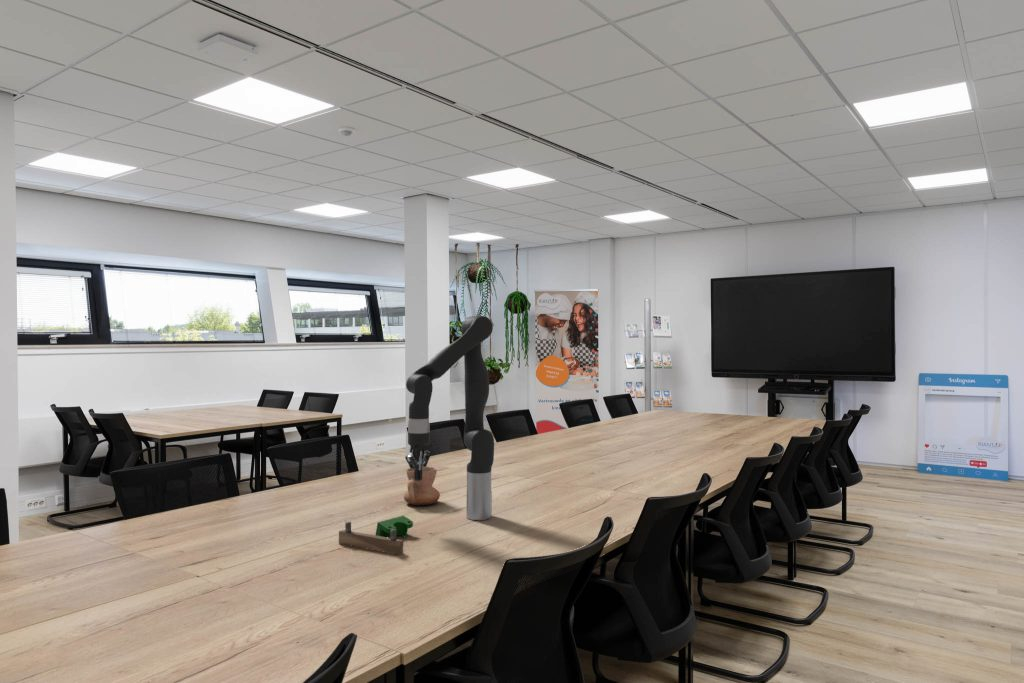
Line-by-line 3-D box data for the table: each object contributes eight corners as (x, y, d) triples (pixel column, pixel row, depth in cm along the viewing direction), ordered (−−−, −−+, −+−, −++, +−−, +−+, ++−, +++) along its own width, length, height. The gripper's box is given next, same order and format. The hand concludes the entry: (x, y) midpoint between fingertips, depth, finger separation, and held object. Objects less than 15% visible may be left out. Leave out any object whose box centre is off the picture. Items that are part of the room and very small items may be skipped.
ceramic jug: (419, 497, 272) (418, 463, 272) (448, 500, 266) (447, 466, 266) (393, 507, 256) (392, 471, 256) (423, 511, 250) (423, 474, 250)
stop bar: (343, 542, 210) (343, 520, 210) (403, 553, 199) (403, 530, 199) (338, 543, 208) (338, 522, 208) (399, 555, 197) (399, 532, 197)
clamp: (389, 554, 211) (384, 533, 207) (377, 546, 215) (373, 525, 211) (416, 533, 219) (413, 512, 215) (405, 526, 223) (401, 505, 219)
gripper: (416, 434, 219) (416, 485, 219) (438, 429, 231) (437, 478, 231) (398, 432, 223) (398, 482, 222) (420, 428, 234) (420, 475, 234)
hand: (418, 480), depth 227 cm, fingers closed
